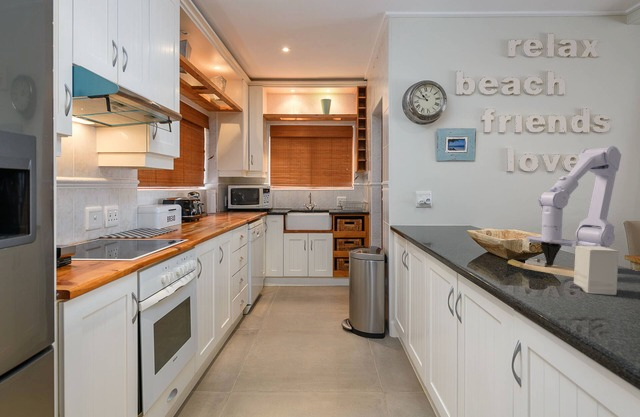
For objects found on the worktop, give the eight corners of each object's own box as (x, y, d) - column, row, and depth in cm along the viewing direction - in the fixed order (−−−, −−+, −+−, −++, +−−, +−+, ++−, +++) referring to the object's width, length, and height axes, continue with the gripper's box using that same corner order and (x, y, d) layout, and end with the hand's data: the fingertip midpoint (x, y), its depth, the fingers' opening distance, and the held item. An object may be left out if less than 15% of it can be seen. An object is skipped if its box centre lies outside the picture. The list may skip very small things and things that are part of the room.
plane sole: (526, 267, 123) (526, 260, 122) (583, 277, 109) (584, 269, 109) (519, 270, 118) (519, 263, 118) (578, 280, 105) (578, 273, 105)
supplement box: (617, 295, 91) (620, 250, 90) (587, 293, 92) (589, 249, 92) (600, 287, 98) (602, 245, 97) (572, 286, 100) (574, 245, 99)
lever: (525, 266, 121) (511, 261, 125) (526, 264, 121) (512, 259, 125) (521, 268, 119) (507, 263, 122) (522, 265, 119) (508, 260, 122)
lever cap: (530, 261, 121) (530, 257, 120) (549, 264, 116) (549, 259, 116) (525, 263, 117) (525, 258, 117) (544, 266, 113) (544, 261, 113)
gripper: (524, 225, 116) (522, 262, 117) (574, 229, 105) (572, 270, 106) (531, 223, 120) (529, 260, 121) (580, 227, 109) (578, 267, 110)
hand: (549, 264), depth 114 cm, fingers closed
